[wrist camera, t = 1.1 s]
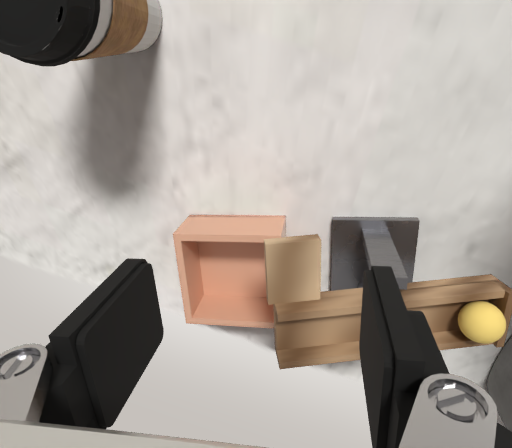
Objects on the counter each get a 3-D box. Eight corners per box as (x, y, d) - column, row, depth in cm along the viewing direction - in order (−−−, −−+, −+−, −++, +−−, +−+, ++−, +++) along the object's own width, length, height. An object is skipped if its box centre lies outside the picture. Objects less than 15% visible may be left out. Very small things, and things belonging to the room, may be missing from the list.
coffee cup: (156, 84, 35) (51, 94, 21) (75, 38, 35) (-85, 19, 21) (191, -10, 32) (93, -69, 18) (102, -62, 31) (-69, -163, 18)
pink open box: (285, 215, 38) (280, 235, 33) (287, 300, 42) (283, 328, 37) (189, 214, 40) (172, 233, 35) (200, 296, 44) (186, 323, 39)
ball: (475, 288, 30) (518, 306, 28) (469, 321, 32) (510, 341, 29) (452, 302, 29) (495, 322, 26) (446, 335, 30) (487, 358, 27)
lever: (501, 216, 29) (531, 231, 26) (479, 323, 33) (503, 346, 30) (263, 238, 27) (268, 256, 25) (268, 347, 31) (274, 373, 28)
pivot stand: (417, 217, 36) (450, 268, 27) (407, 305, 40) (432, 375, 31) (332, 216, 37) (336, 265, 28) (330, 301, 41) (333, 368, 32)
